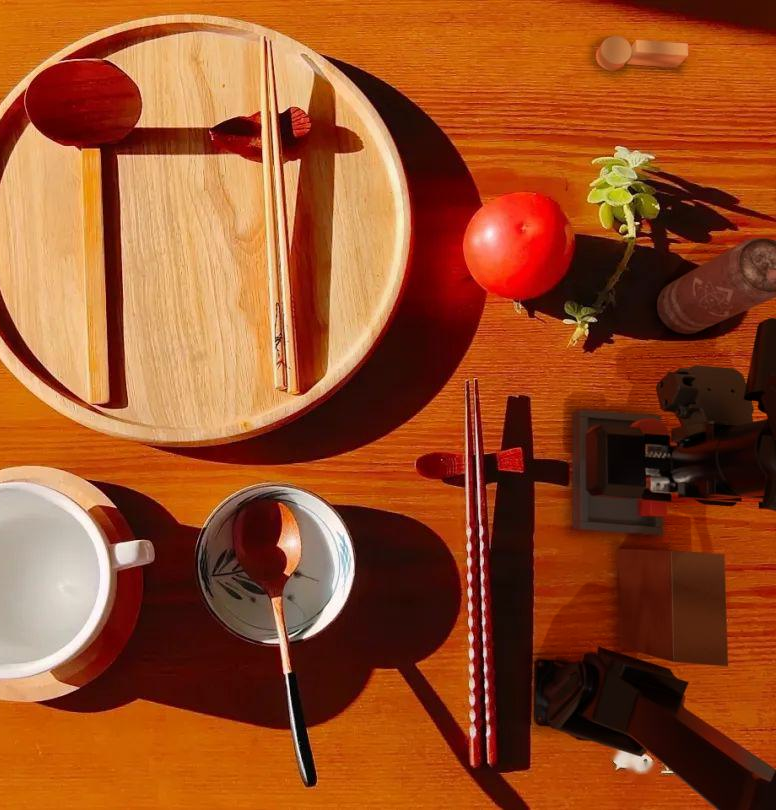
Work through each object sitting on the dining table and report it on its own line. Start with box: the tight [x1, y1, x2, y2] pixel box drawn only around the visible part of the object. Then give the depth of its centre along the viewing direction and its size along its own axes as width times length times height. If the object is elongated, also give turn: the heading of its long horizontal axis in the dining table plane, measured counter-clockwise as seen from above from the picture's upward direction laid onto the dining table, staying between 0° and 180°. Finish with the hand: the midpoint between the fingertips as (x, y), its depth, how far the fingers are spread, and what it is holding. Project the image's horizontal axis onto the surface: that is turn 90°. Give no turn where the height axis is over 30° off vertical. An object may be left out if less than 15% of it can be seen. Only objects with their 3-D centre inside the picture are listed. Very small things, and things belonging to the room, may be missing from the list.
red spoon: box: [630, 418, 671, 518], centre depth 75 cm, size 10×4×2 cm, turn 176°
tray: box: [571, 409, 664, 536], centre depth 81 cm, size 13×9×2 cm
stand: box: [617, 548, 729, 667], centre depth 75 cm, size 10×5×10 cm, turn 176°
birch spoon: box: [595, 35, 689, 72], centre depth 90 cm, size 10×4×2 cm, turn 86°
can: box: [656, 237, 776, 335], centre depth 79 cm, size 6×6×14 cm
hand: (646, 476), depth 76 cm, fingers closed on red spoon, 1 cm apart
